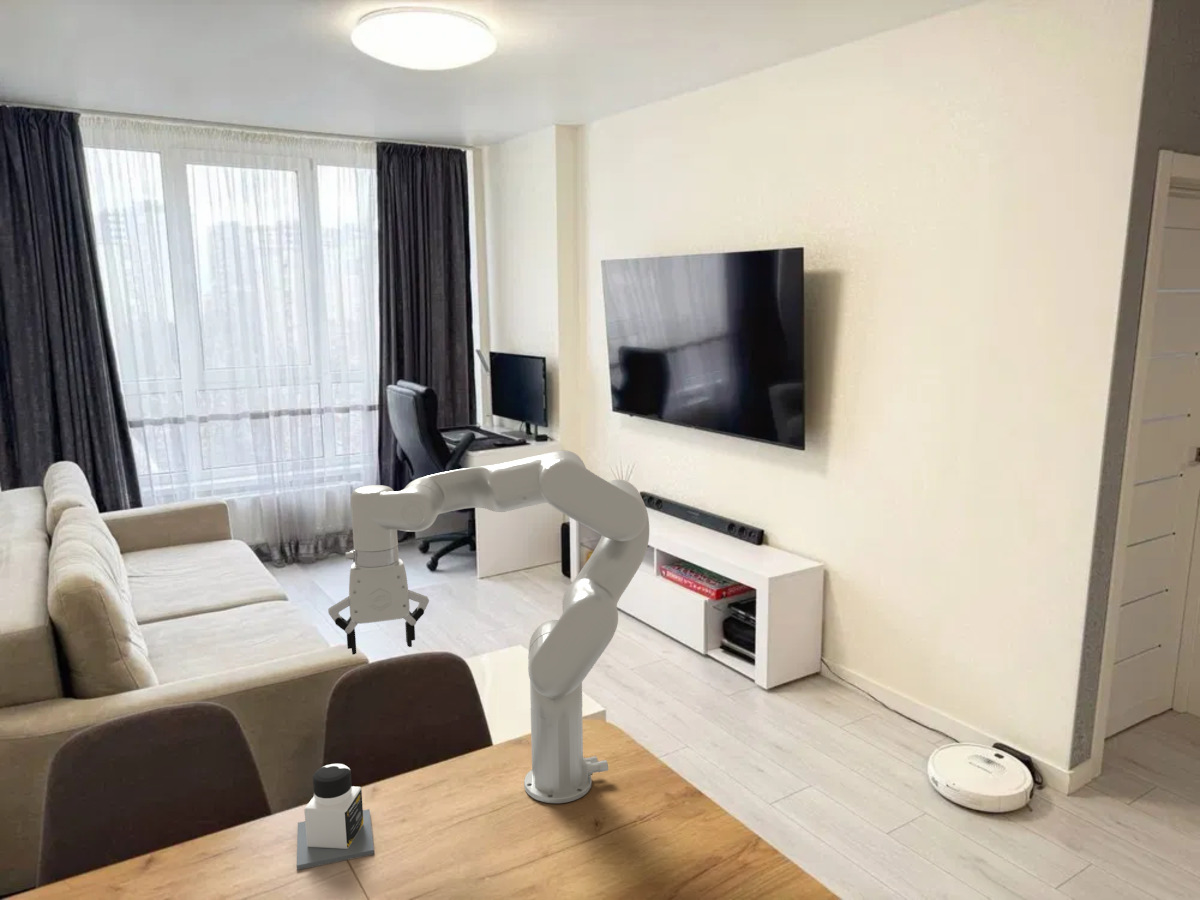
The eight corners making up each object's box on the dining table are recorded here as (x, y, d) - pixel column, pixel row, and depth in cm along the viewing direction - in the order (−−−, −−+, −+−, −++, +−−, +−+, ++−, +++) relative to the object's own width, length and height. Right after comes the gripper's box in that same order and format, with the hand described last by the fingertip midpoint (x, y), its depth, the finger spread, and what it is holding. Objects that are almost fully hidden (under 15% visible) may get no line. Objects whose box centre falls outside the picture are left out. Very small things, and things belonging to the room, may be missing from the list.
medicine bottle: (348, 850, 139) (343, 783, 137) (306, 847, 140) (301, 781, 138) (364, 823, 146) (360, 759, 144) (324, 821, 147) (319, 757, 145)
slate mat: (369, 813, 151) (369, 809, 151) (374, 854, 139) (374, 849, 139) (298, 826, 147) (297, 822, 147) (296, 870, 136) (296, 865, 136)
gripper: (325, 567, 143) (331, 663, 146) (429, 556, 148) (433, 649, 151) (324, 555, 150) (330, 646, 153) (423, 545, 155) (427, 634, 158)
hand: (381, 647), depth 152 cm, fingers open, 9 cm apart
